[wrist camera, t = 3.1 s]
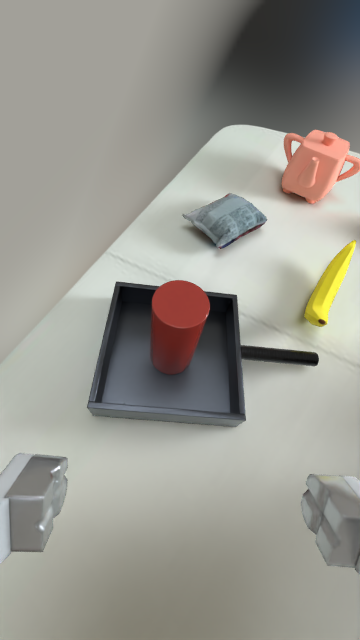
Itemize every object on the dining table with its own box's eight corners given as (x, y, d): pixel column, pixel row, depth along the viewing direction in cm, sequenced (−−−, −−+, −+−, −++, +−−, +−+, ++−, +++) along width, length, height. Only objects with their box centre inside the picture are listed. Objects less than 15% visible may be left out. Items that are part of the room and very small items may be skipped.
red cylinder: (147, 372, 31) (148, 324, 21) (152, 334, 33) (155, 276, 24) (190, 376, 31) (210, 331, 22) (192, 338, 34) (209, 283, 24)
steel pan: (92, 415, 28) (86, 407, 25) (118, 297, 36) (115, 280, 33) (315, 433, 29) (335, 427, 26) (292, 316, 37) (305, 302, 34)
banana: (343, 267, 44) (371, 237, 38) (305, 353, 35) (335, 329, 29) (327, 259, 44) (352, 228, 39) (285, 341, 35) (310, 315, 30)
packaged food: (180, 227, 44) (184, 201, 40) (229, 203, 49) (237, 178, 45) (216, 260, 42) (224, 235, 37) (264, 232, 46) (276, 207, 42)
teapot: (265, 168, 57) (286, 112, 48) (315, 170, 59) (344, 116, 50) (287, 212, 50) (316, 156, 41) (343, 212, 52) (383, 159, 43)
